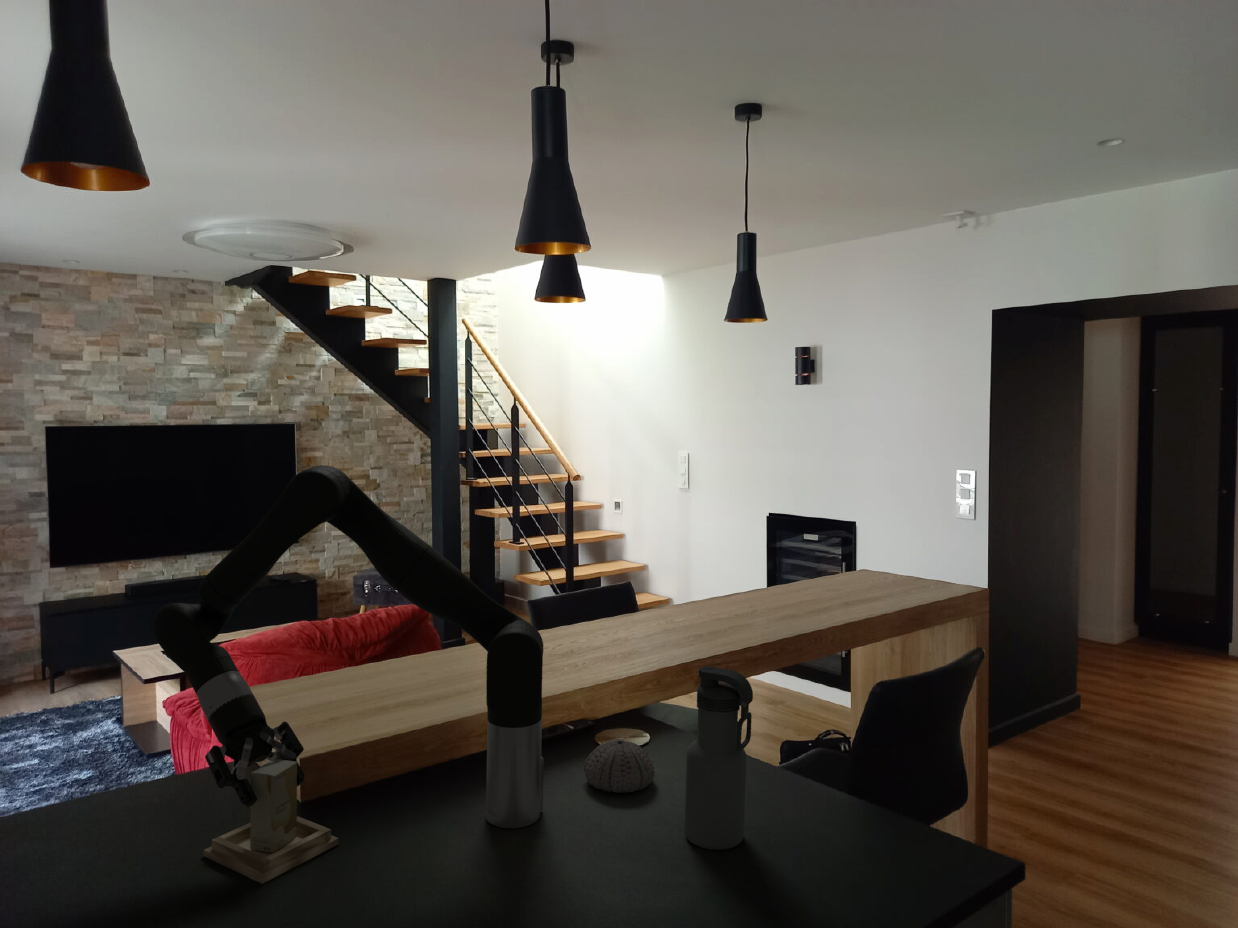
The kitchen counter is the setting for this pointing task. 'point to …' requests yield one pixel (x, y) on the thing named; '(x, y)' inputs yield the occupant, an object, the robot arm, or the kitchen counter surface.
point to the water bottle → (718, 761)
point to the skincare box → (274, 805)
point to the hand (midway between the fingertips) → (276, 793)
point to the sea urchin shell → (619, 767)
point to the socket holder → (268, 865)
